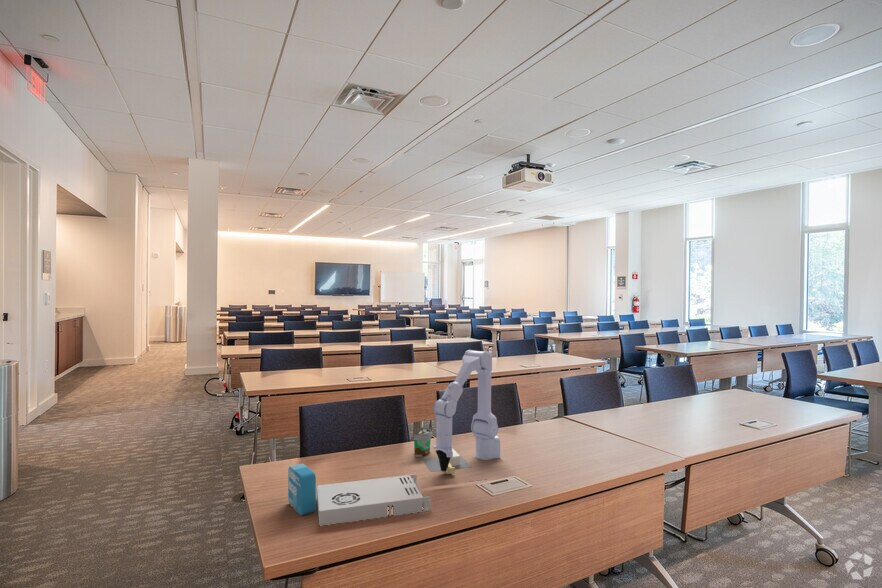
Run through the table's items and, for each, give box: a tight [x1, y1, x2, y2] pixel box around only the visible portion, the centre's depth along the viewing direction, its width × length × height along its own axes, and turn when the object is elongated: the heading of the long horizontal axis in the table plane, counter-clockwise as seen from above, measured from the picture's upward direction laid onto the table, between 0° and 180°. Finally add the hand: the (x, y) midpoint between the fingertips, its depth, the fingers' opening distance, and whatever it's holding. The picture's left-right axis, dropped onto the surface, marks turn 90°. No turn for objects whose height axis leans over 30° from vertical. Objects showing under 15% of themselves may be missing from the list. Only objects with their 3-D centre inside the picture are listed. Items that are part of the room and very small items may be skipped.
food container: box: [413, 426, 433, 458], centre depth 190 cm, size 12×6×10 cm, turn 168°
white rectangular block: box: [450, 448, 461, 466], centre depth 179 cm, size 5×9×4 cm, turn 16°
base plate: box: [421, 455, 472, 473], centre depth 178 cm, size 16×14×1 cm
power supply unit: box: [316, 473, 432, 526], centre depth 145 cm, size 19×33×5 cm, turn 107°
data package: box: [287, 463, 317, 516], centre depth 143 cm, size 12×4×12 cm, turn 37°
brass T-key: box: [445, 460, 456, 475], centre depth 169 cm, size 8×3×3 cm, turn 7°
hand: (444, 470), depth 168 cm, fingers closed, pressing on brass T-key
